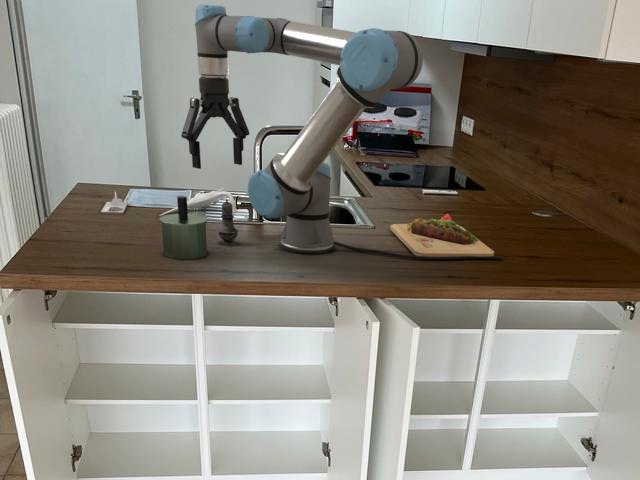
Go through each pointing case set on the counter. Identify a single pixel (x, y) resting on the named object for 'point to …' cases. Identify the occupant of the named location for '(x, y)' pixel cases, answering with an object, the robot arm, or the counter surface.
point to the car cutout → (114, 206)
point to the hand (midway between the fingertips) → (217, 166)
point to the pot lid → (182, 216)
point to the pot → (184, 241)
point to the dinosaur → (208, 200)
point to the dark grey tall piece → (227, 226)
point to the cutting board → (439, 238)
